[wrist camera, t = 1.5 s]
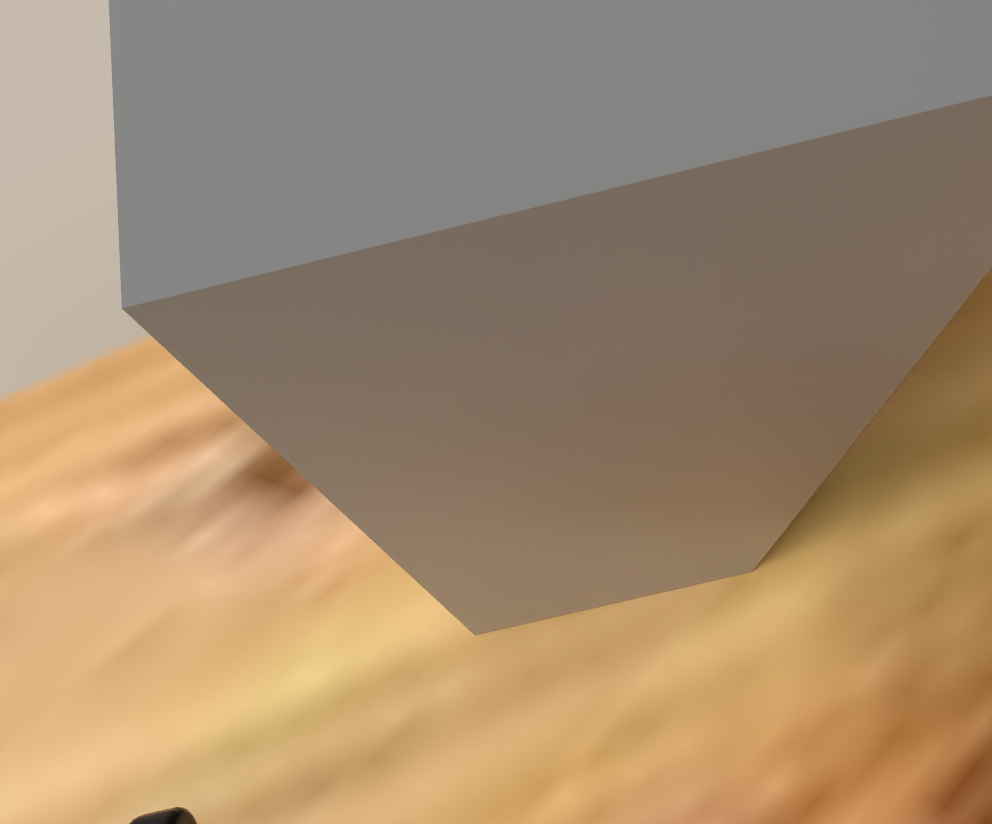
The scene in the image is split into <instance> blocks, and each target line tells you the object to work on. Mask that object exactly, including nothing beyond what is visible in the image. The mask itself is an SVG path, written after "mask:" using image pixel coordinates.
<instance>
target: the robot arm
mask: <svg viewBox="0 0 992 824" xmlns="http://www.w3.org/2000/svg"><path fill="white" fill-rule="evenodd" d="M130 824H197V822H196V820H195V818H194V817H193V815H192V814H191V813H190V812H189V811H188V810H187V809H185V808H180V807H175V808H171V809H166V810H162V811H157V812H153V813H148V814H144V815H142V816H139V817H137V818H135V819H134V820H133V821H132V822H131V823H130Z"/></svg>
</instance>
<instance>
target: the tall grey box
mask: <svg viewBox="0 0 992 824" xmlns="http://www.w3.org/2000/svg"><path fill="white" fill-rule="evenodd" d="M109 14H110V36H111V61H112V84H113V106H114V107H113V108H114V130H115V155H116V178H117V201H118V224H119V246H120V270H121V271H120V272H121V292H122V294H121V295H122V309H123V310H124V311H125V312H126V313H128V314H129V315H130V316H131V317H132V318H133V319H134V320H135V321H136V322H137V323H138V324H139V325H140V326H142V327H143V328H144V329H145V330H146V331H147V332H148V333H149V334H150V335H151V336H152V337H153V338H155V339H156V340H157V341H158V342H159V343H160V344H161V345H162V346H163V347H164V348H165V349H166V350H167V351H169V352H170V353H171V354H172V355H173V356H174V357H175V358H176V359H177V360H178V361H179V362H180V363H182V364H183V365H184V366H185V367H186V368H187V369H188V370H189V371H190V372H191V373H192V374H193V375H194V376H196V377H197V378H198V379H199V380H200V381H201V382H202V383H203V384H204V385H205V386H206V387H207V388H208V389H210V390H211V391H212V392H213V393H214V394H215V395H216V396H217V397H218V398H219V399H220V400H221V401H223V402H224V403H225V404H226V405H227V406H228V407H229V408H230V409H231V410H232V411H233V412H234V413H235V414H237V415H238V416H239V417H240V418H241V419H242V420H243V421H244V422H245V423H246V424H247V425H248V426H250V427H251V428H252V429H253V430H254V431H255V432H256V433H257V434H258V435H259V436H260V437H261V438H262V439H264V440H265V441H266V442H267V443H268V444H269V445H270V446H271V447H272V448H273V449H274V450H275V451H277V452H278V453H279V454H280V455H281V456H282V457H283V458H284V459H285V460H286V461H287V462H288V463H289V464H291V465H292V466H293V467H294V468H295V469H296V470H297V471H298V472H299V473H300V474H301V475H302V476H304V477H305V478H306V479H307V480H308V481H309V482H310V483H311V484H312V485H313V486H314V487H315V488H316V489H318V490H319V491H320V492H321V493H322V494H323V495H324V496H325V497H326V498H327V499H328V500H329V501H331V502H332V503H333V504H334V505H335V506H336V507H337V508H338V509H339V510H340V511H341V512H342V513H343V514H345V515H346V516H347V517H348V518H349V519H350V520H351V521H352V522H353V523H354V524H355V525H356V526H358V527H359V528H360V529H361V530H362V531H363V532H364V533H365V534H366V535H367V536H368V537H369V538H370V539H372V540H373V541H374V542H375V543H376V544H377V545H378V546H379V547H380V548H381V549H382V550H383V551H384V552H386V553H387V554H388V555H389V556H390V557H391V558H392V559H393V560H394V561H395V562H396V563H397V564H399V565H400V566H401V567H402V568H403V569H404V570H405V571H406V572H407V573H408V574H409V575H410V576H411V577H413V578H414V579H415V580H416V581H417V582H418V583H419V584H420V585H421V586H422V587H423V588H424V589H426V590H427V591H428V592H429V593H430V594H431V595H432V596H433V597H434V598H435V599H436V600H437V601H438V602H440V603H441V604H442V605H443V606H444V607H445V608H446V609H447V610H448V611H449V612H450V613H451V614H453V615H454V616H455V617H456V618H457V619H458V620H459V621H460V622H461V623H462V624H463V625H464V626H465V627H467V628H468V629H469V630H470V631H471V632H472V633H473V634H474V635H478V634H483V633H487V632H491V631H496V630H500V629H504V628H509V627H513V626H517V625H522V624H526V623H530V622H535V621H539V620H544V619H548V618H552V617H557V616H561V615H565V614H570V613H574V612H578V611H583V610H587V609H591V608H596V607H600V606H605V605H609V604H613V603H618V602H622V601H626V600H631V599H635V598H639V597H644V596H648V595H652V594H657V593H661V592H665V591H670V590H674V589H679V588H683V587H687V586H692V585H696V584H700V583H705V582H709V581H713V580H718V579H722V578H726V577H731V576H735V575H740V574H744V573H748V572H753V570H754V569H755V568H756V566H757V565H758V564H759V563H760V561H761V560H762V559H763V558H764V556H765V555H766V554H767V553H768V551H769V550H770V549H771V547H772V546H773V545H774V544H775V542H776V541H777V540H778V539H779V537H780V536H781V535H782V533H783V532H784V531H785V530H786V528H787V527H788V526H789V525H790V523H791V522H792V521H793V520H794V518H795V517H796V516H797V514H798V513H799V512H800V511H801V509H802V508H803V507H804V506H805V504H806V503H807V502H808V501H809V499H810V498H811V497H812V495H813V494H814V493H815V492H816V490H817V489H818V488H819V487H820V485H821V484H822V483H823V481H824V480H825V479H826V478H827V476H828V475H829V474H830V473H831V471H832V470H833V469H834V468H835V466H836V465H837V464H838V462H839V461H840V460H841V459H842V457H843V456H844V455H845V454H846V452H847V451H848V450H849V449H850V447H851V446H852V445H853V443H854V442H855V441H856V440H857V438H858V437H859V436H860V435H861V433H862V432H863V431H864V429H865V428H866V427H867V426H868V424H869V423H870V422H871V421H872V419H873V418H874V417H875V416H876V414H877V413H878V412H879V410H880V409H881V408H882V407H883V405H884V404H885V403H886V402H887V400H888V399H889V398H890V397H891V395H892V394H893V393H894V391H895V390H896V389H897V388H898V386H899V385H900V384H901V383H902V381H903V380H904V379H905V377H906V376H907V375H908V374H909V372H910V371H911V370H912V369H913V367H914V366H915V365H916V364H917V362H918V361H919V360H920V358H921V357H922V356H923V355H924V353H925V352H926V351H927V350H928V348H929V347H930V346H931V344H932V343H933V342H934V341H935V339H936V338H937V337H938V336H939V334H940V333H941V332H942V331H943V329H944V328H945V327H946V325H947V324H948V323H949V322H950V320H951V319H952V318H953V317H954V315H955V314H956V313H957V312H958V310H959V309H960V308H961V306H962V305H963V304H964V303H965V301H966V300H967V299H968V298H969V296H970V295H971V294H972V292H973V291H974V290H975V289H976V287H977V286H978V285H979V284H980V282H981V281H982V280H983V279H984V277H985V276H986V275H987V273H988V272H989V271H990V270H991V268H992V0H109Z"/></svg>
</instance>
